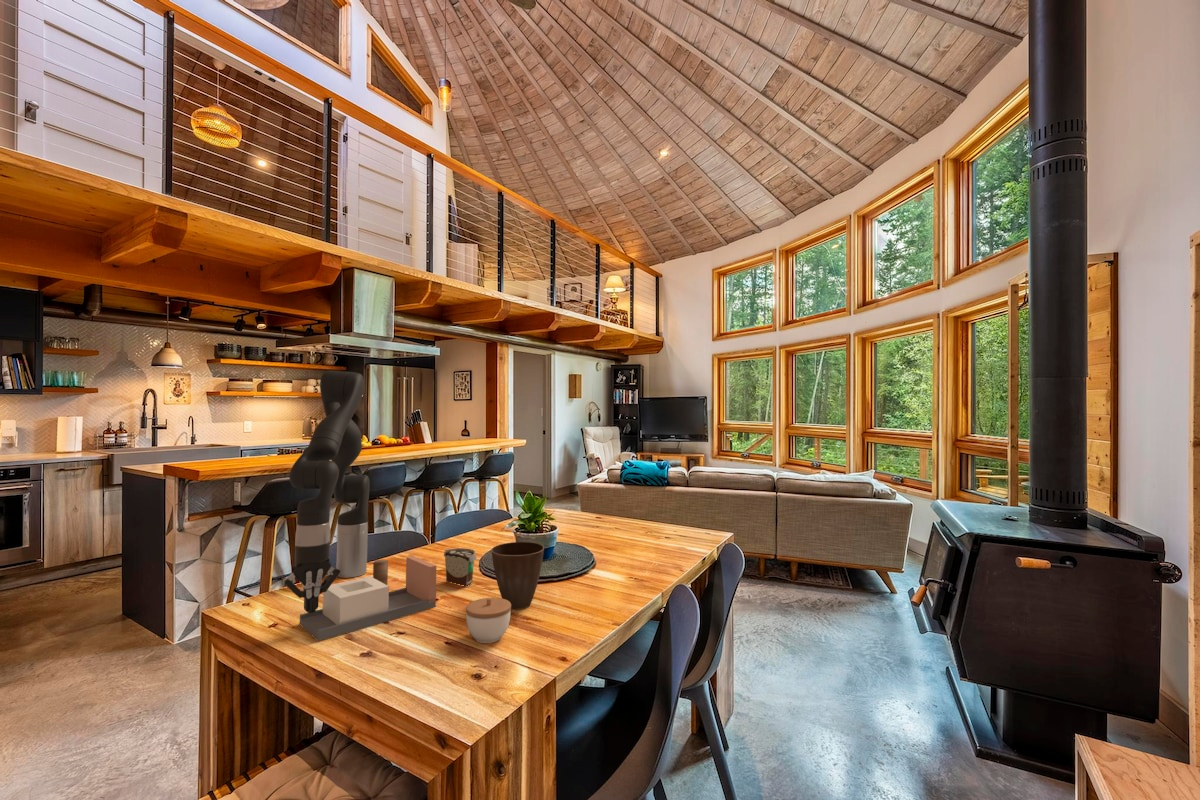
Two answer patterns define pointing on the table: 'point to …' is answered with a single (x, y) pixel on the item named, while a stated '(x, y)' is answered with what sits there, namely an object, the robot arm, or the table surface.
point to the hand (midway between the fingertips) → (310, 611)
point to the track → (400, 604)
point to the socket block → (355, 599)
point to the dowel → (380, 571)
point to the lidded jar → (488, 619)
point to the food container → (459, 565)
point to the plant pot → (517, 571)
